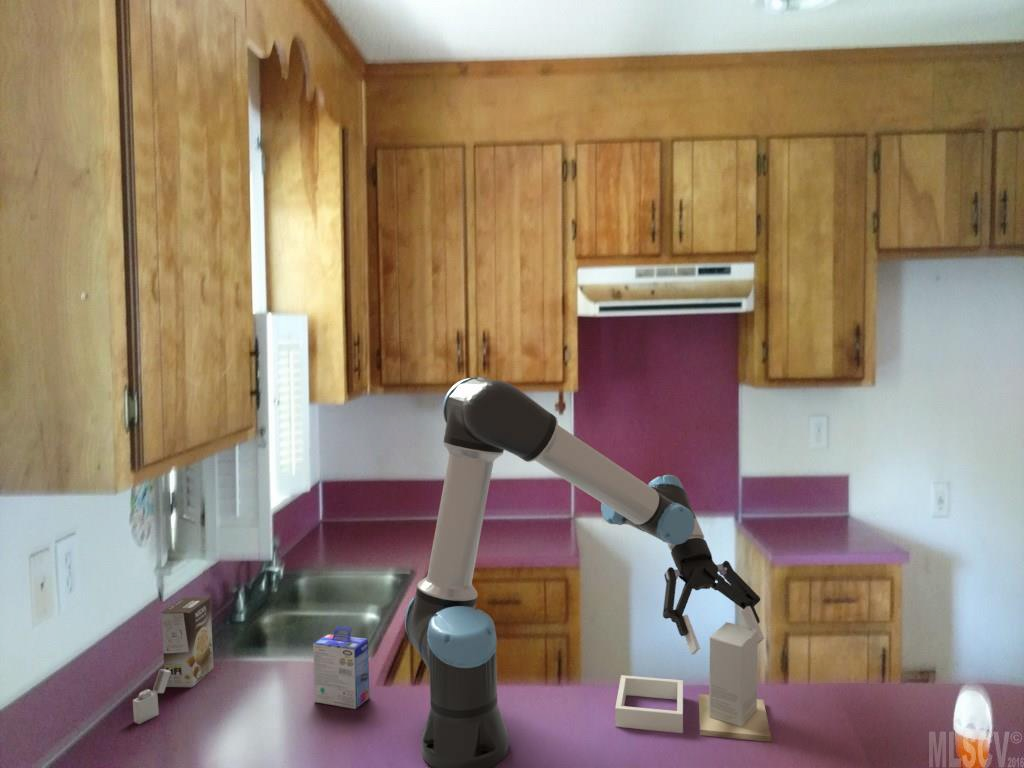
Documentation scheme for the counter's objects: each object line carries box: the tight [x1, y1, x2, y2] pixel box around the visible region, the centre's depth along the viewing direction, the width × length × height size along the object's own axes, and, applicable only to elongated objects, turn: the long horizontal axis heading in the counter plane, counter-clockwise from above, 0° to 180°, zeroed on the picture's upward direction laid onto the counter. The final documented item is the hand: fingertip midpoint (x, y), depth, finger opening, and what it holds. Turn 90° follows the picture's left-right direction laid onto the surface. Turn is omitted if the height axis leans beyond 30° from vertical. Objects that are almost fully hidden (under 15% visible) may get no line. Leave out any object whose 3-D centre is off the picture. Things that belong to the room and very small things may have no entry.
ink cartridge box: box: [312, 625, 371, 710], centre depth 147 cm, size 10×6×14 cm, turn 71°
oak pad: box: [698, 693, 772, 743], centre depth 137 cm, size 12×13×1 cm
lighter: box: [132, 668, 171, 725], centre depth 144 cm, size 7×2×8 cm, turn 148°
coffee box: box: [160, 596, 214, 688], centre depth 159 cm, size 9×6×16 cm
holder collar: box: [614, 674, 684, 734], centre depth 140 cm, size 12×13×4 cm
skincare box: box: [708, 622, 759, 727], centre depth 137 cm, size 8×7×16 cm
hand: (728, 646), depth 139 cm, fingers open, 13 cm apart
